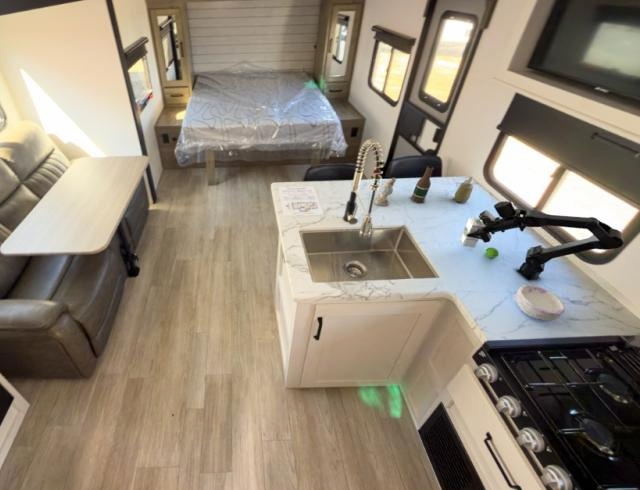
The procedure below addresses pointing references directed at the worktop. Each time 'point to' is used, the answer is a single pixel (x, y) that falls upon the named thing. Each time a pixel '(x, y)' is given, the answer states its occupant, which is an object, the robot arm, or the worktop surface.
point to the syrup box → (470, 228)
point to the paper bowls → (539, 302)
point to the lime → (492, 252)
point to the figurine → (385, 192)
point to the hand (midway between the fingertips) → (468, 231)
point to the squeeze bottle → (464, 191)
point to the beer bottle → (422, 186)
